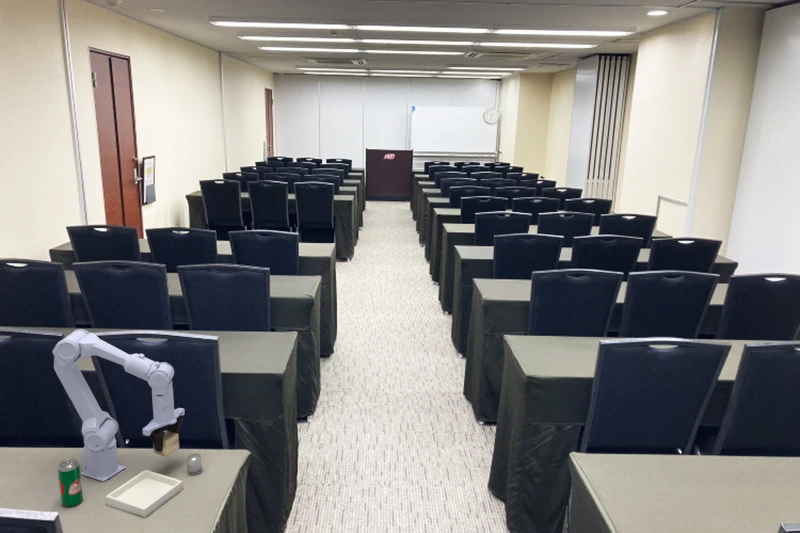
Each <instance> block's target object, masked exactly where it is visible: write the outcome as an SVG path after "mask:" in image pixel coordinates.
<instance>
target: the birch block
mask: <svg viewBox="0 0 800 533" xmlns="http://www.w3.org/2000/svg"><path fill="white" fill-rule="evenodd" d="M163 432H165V434H164V438H163V451H162V452H158V451H156V450H155V447H154V445H153V444H152V446H153V448H152V449H153V454H155V455H159V456H162V457H165V458H168V457H169V456H171V455H172V454H174V453H175V452H177V451H178V450H180V440H179V439H180V438H179V433H178V434H177V433H173V432H170V431H168V430H163Z"/></svg>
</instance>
